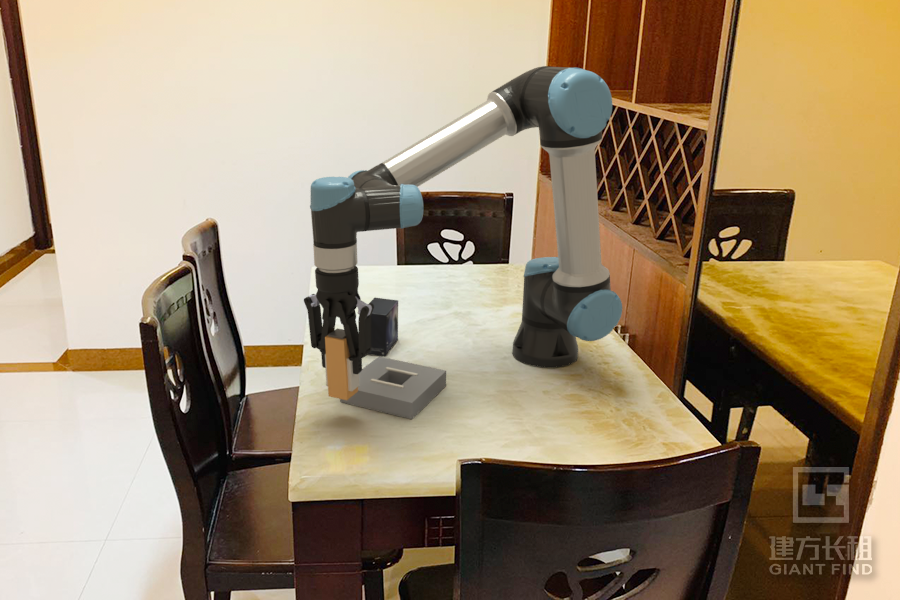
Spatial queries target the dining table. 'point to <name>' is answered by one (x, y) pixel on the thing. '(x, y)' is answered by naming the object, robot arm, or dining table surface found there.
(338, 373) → the plug
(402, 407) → the socket
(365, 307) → the robot arm
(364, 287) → the dining table surface
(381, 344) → the small box
